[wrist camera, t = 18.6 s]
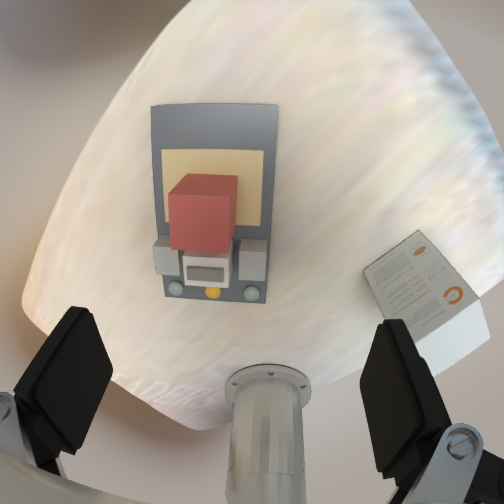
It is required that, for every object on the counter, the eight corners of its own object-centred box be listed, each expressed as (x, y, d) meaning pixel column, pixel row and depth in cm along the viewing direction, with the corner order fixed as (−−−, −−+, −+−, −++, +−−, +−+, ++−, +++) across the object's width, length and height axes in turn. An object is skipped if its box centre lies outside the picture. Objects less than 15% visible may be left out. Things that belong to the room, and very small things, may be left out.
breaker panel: (265, 292, 36) (265, 318, 32) (169, 286, 36) (159, 310, 32) (277, 105, 26) (278, 106, 22) (158, 105, 26) (140, 107, 22)
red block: (235, 222, 29) (228, 253, 24) (188, 219, 29) (170, 249, 24) (237, 175, 27) (229, 196, 22) (187, 173, 27) (167, 193, 22)
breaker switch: (232, 267, 31) (227, 291, 28) (192, 265, 32) (183, 288, 28) (232, 240, 30) (227, 261, 27) (191, 238, 30) (181, 258, 27)
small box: (386, 303, 36) (421, 386, 24) (361, 269, 34) (397, 354, 22) (439, 266, 33) (492, 338, 22) (419, 227, 31) (480, 297, 19)
